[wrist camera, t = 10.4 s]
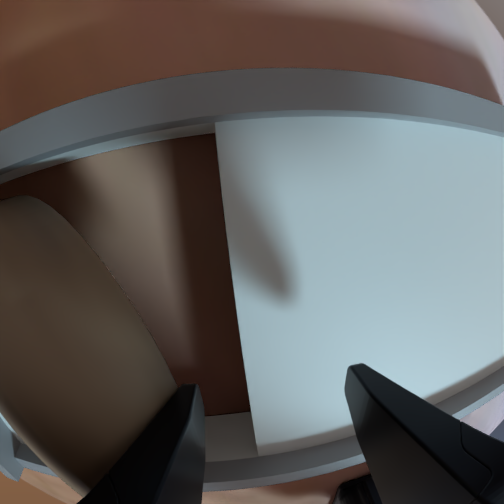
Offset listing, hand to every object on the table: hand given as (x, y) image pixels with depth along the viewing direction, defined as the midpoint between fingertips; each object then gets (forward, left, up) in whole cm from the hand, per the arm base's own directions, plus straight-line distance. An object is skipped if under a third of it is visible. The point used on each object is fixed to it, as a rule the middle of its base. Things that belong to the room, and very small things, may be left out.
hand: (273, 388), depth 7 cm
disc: (0, +7, -2) cm, 8 cm away
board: (0, 0, -5) cm, 5 cm away
